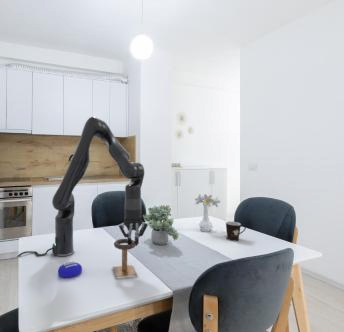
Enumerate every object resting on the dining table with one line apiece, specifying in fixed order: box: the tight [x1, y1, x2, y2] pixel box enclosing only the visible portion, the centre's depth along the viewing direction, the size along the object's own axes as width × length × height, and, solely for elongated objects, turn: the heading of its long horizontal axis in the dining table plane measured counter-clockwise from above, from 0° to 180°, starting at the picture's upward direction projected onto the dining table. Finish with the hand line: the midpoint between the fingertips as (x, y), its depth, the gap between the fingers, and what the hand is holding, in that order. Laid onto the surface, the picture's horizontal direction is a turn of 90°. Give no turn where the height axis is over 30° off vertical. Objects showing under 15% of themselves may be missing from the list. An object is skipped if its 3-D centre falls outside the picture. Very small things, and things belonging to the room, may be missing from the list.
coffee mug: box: [225, 220, 246, 242], centre depth 152 cm, size 12×9×10 cm
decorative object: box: [57, 260, 83, 279], centre depth 107 cm, size 10×6×10 cm
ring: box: [113, 238, 137, 251], centre depth 108 cm, size 10×10×2 cm
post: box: [112, 250, 138, 278], centre depth 109 cm, size 9×9×11 cm
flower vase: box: [194, 193, 221, 232], centre depth 170 cm, size 13×18×25 cm
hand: (132, 245), depth 109 cm, fingers closed on ring, 2 cm apart
